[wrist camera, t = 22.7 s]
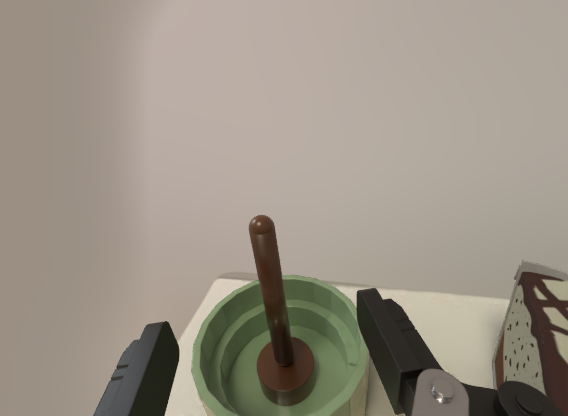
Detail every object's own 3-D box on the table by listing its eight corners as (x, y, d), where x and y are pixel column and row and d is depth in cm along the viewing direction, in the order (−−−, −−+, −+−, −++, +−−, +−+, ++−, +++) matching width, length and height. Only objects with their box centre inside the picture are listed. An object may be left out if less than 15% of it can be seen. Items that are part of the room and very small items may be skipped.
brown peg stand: (255, 406, 21) (209, 240, 15) (264, 350, 26) (231, 202, 19) (316, 407, 21) (298, 235, 14) (315, 350, 25) (300, 197, 18)
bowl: (185, 477, 18) (157, 430, 16) (232, 319, 30) (221, 277, 28) (385, 487, 17) (391, 437, 14) (353, 316, 29) (353, 272, 26)
